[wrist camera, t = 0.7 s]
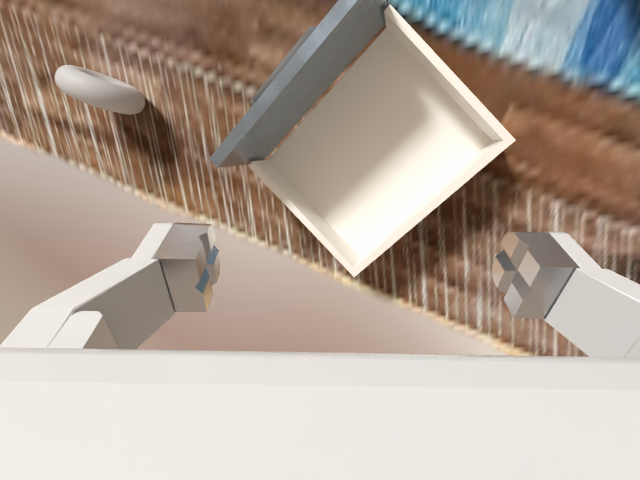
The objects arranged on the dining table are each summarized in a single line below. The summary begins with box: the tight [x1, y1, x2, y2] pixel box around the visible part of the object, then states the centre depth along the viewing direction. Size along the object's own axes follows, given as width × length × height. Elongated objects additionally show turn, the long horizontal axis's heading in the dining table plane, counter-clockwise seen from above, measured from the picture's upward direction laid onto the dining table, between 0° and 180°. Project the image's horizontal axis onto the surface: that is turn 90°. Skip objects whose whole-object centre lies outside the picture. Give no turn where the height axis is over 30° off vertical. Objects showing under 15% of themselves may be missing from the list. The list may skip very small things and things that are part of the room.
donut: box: [55, 65, 145, 115], centre depth 46 cm, size 10×4×10 cm, turn 68°
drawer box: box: [249, 5, 515, 277], centre depth 42 cm, size 18×22×7 cm
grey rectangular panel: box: [209, 0, 388, 167], centre depth 38 cm, size 2×22×12 cm, turn 135°
